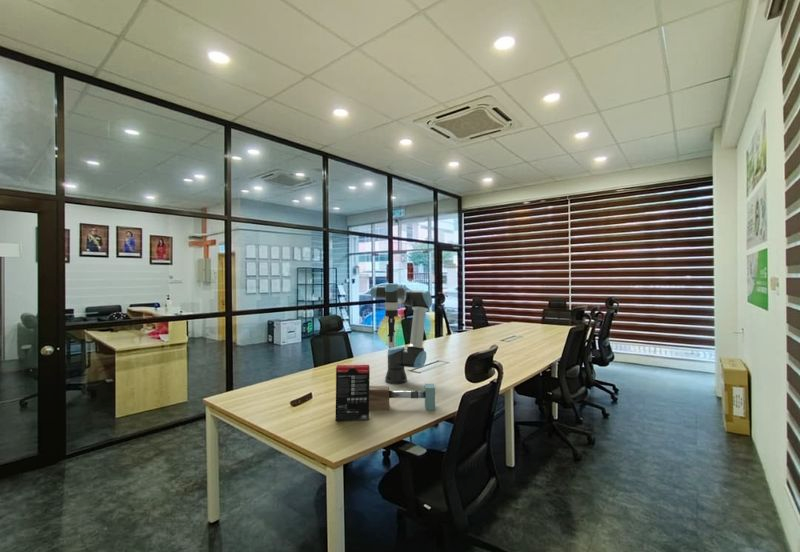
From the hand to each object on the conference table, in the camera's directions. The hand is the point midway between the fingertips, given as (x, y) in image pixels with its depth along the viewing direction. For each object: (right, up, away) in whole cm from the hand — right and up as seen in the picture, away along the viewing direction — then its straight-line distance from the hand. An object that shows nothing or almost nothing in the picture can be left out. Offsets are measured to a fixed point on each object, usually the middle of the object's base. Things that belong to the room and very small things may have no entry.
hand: (391, 345), depth 215 cm
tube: (+10, -27, -14) cm, 32 cm away
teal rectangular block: (+21, -32, -14) cm, 41 cm away
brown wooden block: (-7, -32, -14) cm, 35 cm away
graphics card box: (-19, -32, -30) cm, 48 cm away
